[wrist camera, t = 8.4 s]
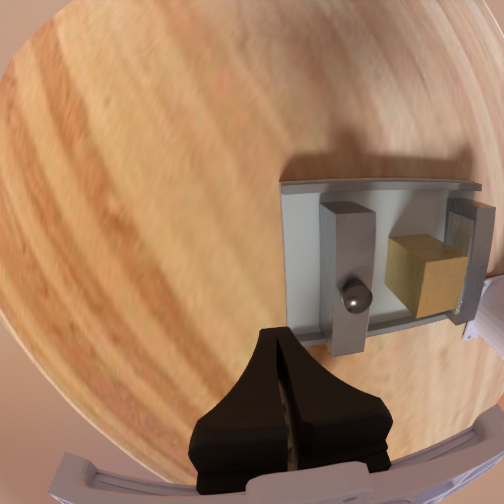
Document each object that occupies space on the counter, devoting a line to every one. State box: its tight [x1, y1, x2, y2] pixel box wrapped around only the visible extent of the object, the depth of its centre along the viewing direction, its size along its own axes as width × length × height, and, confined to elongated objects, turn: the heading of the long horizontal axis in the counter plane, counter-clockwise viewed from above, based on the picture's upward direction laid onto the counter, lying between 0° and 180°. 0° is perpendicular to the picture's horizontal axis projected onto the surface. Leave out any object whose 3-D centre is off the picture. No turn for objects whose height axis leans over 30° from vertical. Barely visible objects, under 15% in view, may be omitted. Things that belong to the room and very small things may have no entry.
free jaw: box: [319, 201, 377, 357], centre depth 18 cm, size 3×10×5 cm, turn 5°
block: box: [384, 234, 468, 318], centre depth 18 cm, size 4×4×6 cm
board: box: [279, 178, 482, 347], centre depth 20 cm, size 18×13×2 cm
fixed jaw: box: [442, 198, 496, 326], centre depth 18 cm, size 3×10×4 cm, turn 5°
